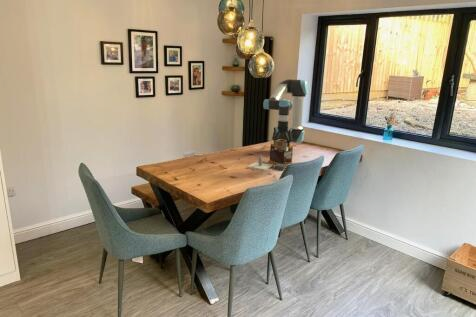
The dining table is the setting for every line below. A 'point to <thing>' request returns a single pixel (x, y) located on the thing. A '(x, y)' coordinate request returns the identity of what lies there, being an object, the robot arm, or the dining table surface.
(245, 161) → the dining table surface
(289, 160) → the supplement box
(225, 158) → the dining table surface
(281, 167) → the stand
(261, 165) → the white post holder
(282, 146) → the brown block
